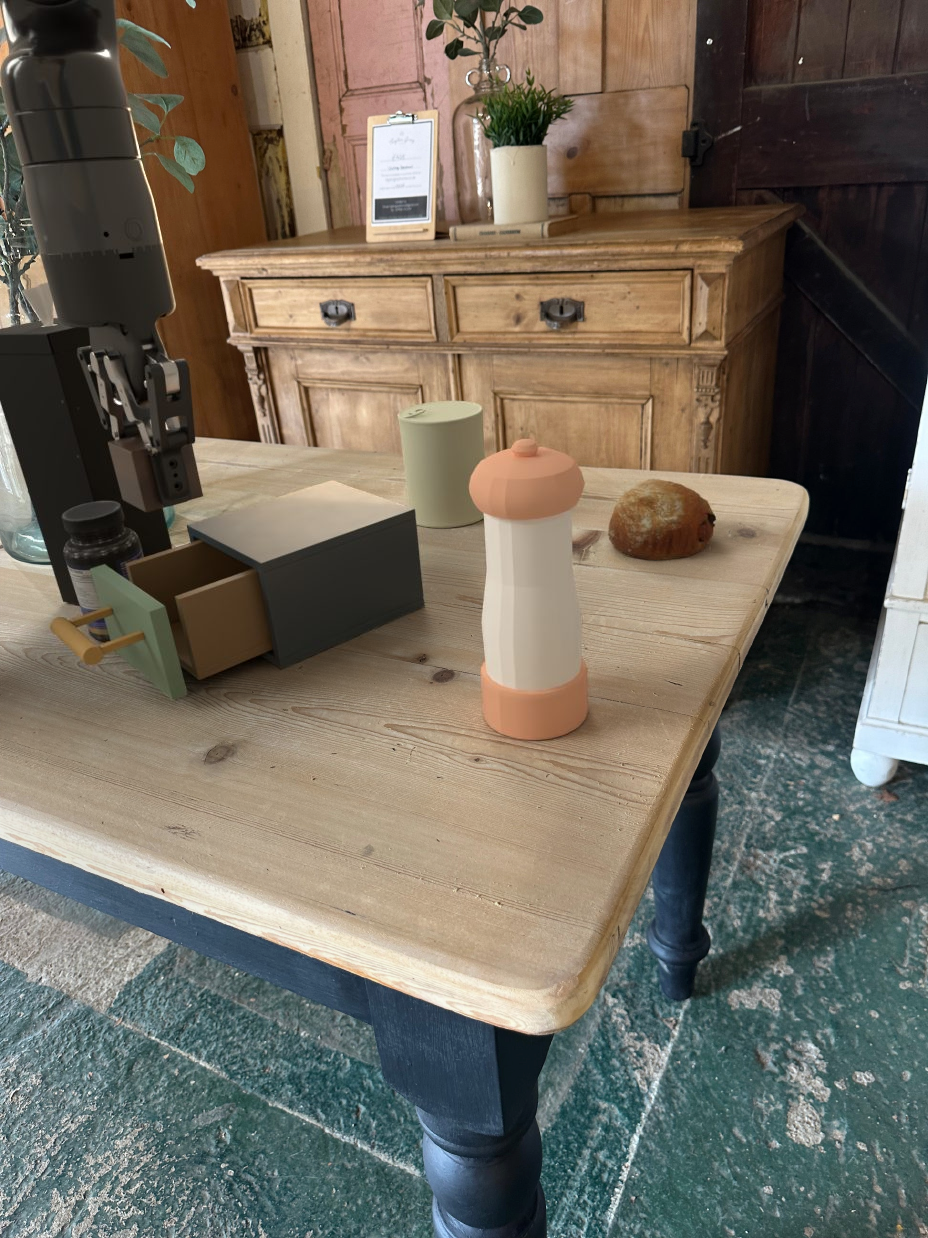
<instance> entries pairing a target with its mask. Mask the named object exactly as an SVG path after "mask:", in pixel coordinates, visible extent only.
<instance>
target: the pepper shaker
mask: <svg viewBox="0 0 928 1238" xmlns="http://www.w3.org/2000/svg"><path fill="white" fill-rule="evenodd" d="M585 484H586V482H585V479H584V475H583V472H582V470H581V468H580V467H579V465H578V464H577V462H576V461H575V459H574V458H573V456H570V455H569V454H566V453H564V452H561V451H558V450H556V449H553V448H549V447H544V446H539V445H538V444H537V442H536V441H535V440H533V439H530V438H521V439H518V440H516V441H514V442H513V444H512V446H511V448H506V449H503V450H500V451H497V452H495V453H493V454H492V455H489V456H487V457H485V459H483V460H482V461H480V463H479V464H478V465H477V467H476V468H475V470H474V472H473V473H472V475H471V478H470V483H469V492H470V495H471V498H472V500H473V502H474V504H475V506H476V507H477V508H478V509H479V510H480V511H481V512H483V513H484V518H483V524H484V540H485V542H484V544H485V559H486V560H485V562H486V563H485V564H486V574H485V582H484V583H485V584H484V593H483V602H482V603H483V606H482V614H481V631H482V641H483V649H484V650H483V652H484V661H483V662H482V664H481V667H480V669H479V672H480V687H481V700H482V711H483V712H482V713H483V719H484V720H485V722H486V723H487V725H488V726H489V727H490V728H491V729H493V730H494V731H496V732H498V733H499V734H500V735H504V736H507V737H510V738H513V739H516V740H526V741H541V740H542V741H543V740H551V739H555V738H558V737H562V736H565V735H567V734H569V733H571V732H572V731H575V730H576V729H578V728H579V727H580V726H581V725H582V724H583V722H584V721H585V720H586V719H587V715H588V710H589V694H588V693H589V692H588V691H589V690H588V689H589V688H588V687H589V684H588V683H589V682H588V680H589V679H588V673H589V672H588V667H587V664H586V660H585V659H584V657H582V656H583V654H582V653H583V617H582V611H581V605H580V599H579V594H578V589H577V585H576V584H577V583H576V579H575V571H574V561H573V560H574V559H573V558H574V557H573V515H572V513H573V512H572V509H573V508H575V506H577V504H578V502H579V501H580V498H581V496H582V493H583V492H584V488H585Z"/></svg>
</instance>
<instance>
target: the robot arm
mask: <svg viewBox="0 0 928 1238" xmlns="http://www.w3.org/2000/svg"><path fill="white" fill-rule="evenodd" d="M0 12H1V17H2V22H3V28H4V34H5V37H6V38H5V39H6V43H7V48H8V55H7V56H6V57H5V58H4V60H2V62H1V66H0V89H1V94H2V98H3V103H4V107H5V112H6V115H7V117H8V122H9V126H10V130H11V133H12V137H13V141H14V144H15V149H16V152H17V156H18V160H19V163H20V166H22V167H21V172H22V176H23V182H24V190H25V198H26V204H27V209H28V213H29V218H30V222H31V225H32V229H33V233H34V237H35V240H36V244H37V247H38V251H39V254H40V258H41V262H42V266H43V270H44V273H45V277H46V280H47V283H48V285H49V288H50V292H51V296H52V299H53V308H54V310H55V314H56V318H58V320H59V321H60V322H61V323H62V324H64V325H66V326H69V327H88V328H89V334H90V344H91V346H86V347H81V348H78V349H77V356H78V359H79V360H80V363H81V366H82V368H83V371H84V374H85V377H86V380H87V382H88V385H89V388H90V391H91V394H92V397H93V399H94V402H95V405H96V408H97V411H98V413H99V416H100V419H101V423H102V425H103V426H104V428H105V429H106V430H107V429H112V435H113V437H114V438H115V440H118V439H122V438H127V437H131V436H135V435H139V434H141V437H142V439H143V442H144V445H145V449H146V451H147V453H148V454H149V455H148V459H149V463H150V467H151V471H152V475H153V479H154V484H155V488H156V492H157V496H158V500H159V502H160V503H161V504H163V505H165V506H167V507H166V508H168V507H173V506H176V505H179V504H183V503H187V502H189V501H191V500H190V498H191V490H190V485H189V481H188V476H187V472H186V467H185V463H184V458H183V454H182V450H181V449H183V448H185V447H186V445H190V444H192V445H193V444H195V443H196V433H195V418H194V408H193V407H194V406H193V397H192V387H191V386H192V383H191V373H190V366H189V363H188V362H187V361H186V359H185V358H182V357H181V358H178V359H170V358H169V355H168V353H167V350H166V348H165V346H164V343H163V341H162V339H161V336H160V333H159V330H158V328H157V321H158V319H159V318H166V317H168V316H171V315H172V314H173V313H174V312H175V310H176V305H177V304H176V299H175V294H174V289H173V285H172V280H171V275H170V271H169V266H168V261H167V256H166V252H165V245H164V242H163V237H162V232H161V228H160V223H159V219H158V212H157V209H156V205H155V204H156V203H155V200H154V197H153V192H152V189H151V186H150V184H149V182H148V178H147V176H146V172H145V170H144V169H145V168H144V165H143V162H142V159H141V158H142V157H141V152H140V148H139V143H138V137H137V133H136V127H135V124H134V119H133V114H132V111H131V106H130V101H129V97H128V94H127V91H126V87H125V84H124V83H125V82H124V80H123V74H122V69H121V61H120V60H121V58H120V43H119V31H118V21H117V19H118V18H117V9H116V1H115V0H0ZM113 393H114V394H115V396H116V397H113ZM166 429H167V431H166Z"/></svg>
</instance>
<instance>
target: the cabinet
mask: <svg viewBox="0 0 928 1238" xmlns="http://www.w3.org/2000/svg"><path fill="white" fill-rule="evenodd" d="M186 529H187V533H188V538H189V543H191V542H194V541H197V540H202V541H204V542H205V543H207V544H209V545H211V546H213V547H215V548H217V549H219V550H221V551H222V552H224V553H226V554H228V555H230V556H232V557H234V558H236V559H238V560H239V561H241V562H243V563H245V564H247V565H249V566H251V567H253V568H255V569H256V570H258V574H259V579H260V584H261V589H262V594H263V599H264V604H265V609H266V615H267V620H268V625H269V630H270V635H271V640H272V645H273V649H272V650H270V651H268V652H265V653H263V654H261V655H260V656H261V657H262V658H264V659H265V660H266V661H268V662H269V663H270V664H272V665H274V666H276V667H277V668H279V669H281V670H283V669H285V668H288V667H290V666H292V665H294V664H296V663H299V662H301V661H303V660H306V659H308V658H310V657H313V656H316V655H317V654H320V653H322V652H324V651H326V650H328V649H331V648H333V647H336V646H337V645H340V644H343V643H345V642H347V641H350V640H352V639H354V638H356V637H359V636H361V635H363V634H365V633H367V632H370V631H372V630H374V629H376V628H379V627H381V626H384V625H385V624H388V623H390V622H392V621H395V620H397V619H399V618H401V617H404V616H406V615H408V614H411V613H413V612H415V611H418V610H420V609H422V608H424V607H425V606H426V603H425V595H424V594H425V593H424V585H423V575H422V574H423V573H422V566H421V565H422V564H421V555H420V545H419V535H418V525H417V524H416V513H415V509H414V508H411V507H408V505H405V504H402V503H399V502H396V501H394V500H390V499H387V498H384V497H381V496H378V495H376V494H373V493H371V492H368V491H364V490H361V489H358V488H356V487H352V486H349V485H346V484H344V483H341V482H338V481H335V480H332V479H331V480H327V481H324V482H321V483H319V484H314V485H310V486H308V487H303V488H301V489H298V490H295V491H292V492H289V493H285V494H282V495H279V496H276V497H273V498H269V499H266V500H262V501H259V502H256V503H252V504H249V505H246V506H243V507H240V508H237V509H233V510H230V511H226V512H223V513H220V514H217V515H213V516H210V517H207V518H204V519H201V520H196V521H195V522H191V523H187V524H186Z"/></svg>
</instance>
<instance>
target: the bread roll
mask: <svg viewBox="0 0 928 1238" xmlns="http://www.w3.org/2000/svg"><path fill="white" fill-rule="evenodd" d="M716 520H717V516H716V515H715V513H714V512H713V509H712V507H711V506H710V503H709V500H707V499H705V498H703V497H702V496H701V495H700V494H699V492H696V491H695V490H693V489H691V488H689V487H687V486H685V485H683V484H681V483H678V482H673V481H670V480H663V479H658V478H648V479H644V480H642V481H640V482H637V483H636V484H634V485H632V486H631V487H629V488H628V489H627V490H625V491H624V492H623V494H622V495H620V497H619V499H618V501H617V502H616V503H615V505H614V507H613V511H612V515H611V517H610V519H609V523H608V529H607V530H608V533H607V536H608V540H609V541H610V542H611V544H612V546H613V548H614V549H615V550H616V551H617V552H619V553H620V554H622V555H624V556H627V557H631V558H632V557H633V558H636V559H641V560H642V559H643V560H650V561H651V560H652V561H659V560H661V561H662V560H669V559H670V560H671V559H679V558H685V557H689V556H693V555H696V554H697V553H700V552H702V551H703V550H704V549H705V548H706V547H707V545H708V544H709V543H710V542H711V540H712V537H713V534H714V528H715V527H716V524H715V522H716Z"/></svg>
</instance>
